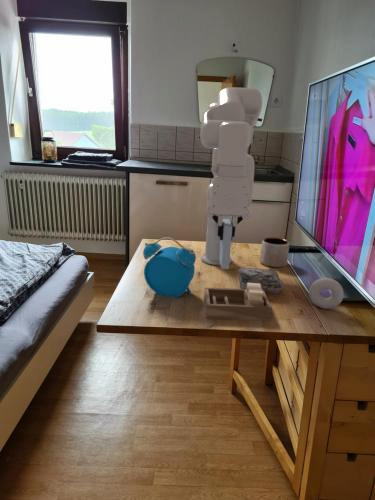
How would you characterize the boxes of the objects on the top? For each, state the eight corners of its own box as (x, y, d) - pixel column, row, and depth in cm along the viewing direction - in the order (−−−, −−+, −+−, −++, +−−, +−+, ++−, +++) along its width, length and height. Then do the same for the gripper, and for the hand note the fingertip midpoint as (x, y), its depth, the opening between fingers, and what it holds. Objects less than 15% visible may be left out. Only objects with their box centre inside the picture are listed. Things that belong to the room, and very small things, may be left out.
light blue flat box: (219, 258, 112) (221, 218, 108) (225, 258, 112) (228, 219, 108) (221, 268, 104) (224, 226, 100) (228, 269, 104) (232, 226, 100)
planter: (257, 258, 159) (259, 236, 156) (282, 259, 160) (285, 237, 157) (262, 267, 149) (265, 244, 146) (290, 268, 150) (293, 245, 147)
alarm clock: (199, 293, 124) (202, 234, 118) (188, 306, 115) (192, 243, 108) (152, 284, 129) (153, 227, 123) (138, 296, 120) (138, 235, 113)
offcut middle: (243, 296, 115) (244, 289, 114) (256, 297, 115) (257, 289, 114) (249, 308, 108) (250, 300, 107) (263, 308, 108) (264, 301, 107)
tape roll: (306, 307, 118) (311, 277, 114) (306, 302, 121) (311, 273, 118) (340, 313, 115) (346, 283, 111) (340, 308, 118) (346, 279, 114)
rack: (203, 302, 118) (204, 287, 116) (261, 304, 118) (263, 289, 117) (205, 321, 106) (206, 305, 105) (269, 323, 107) (271, 307, 105)
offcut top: (246, 290, 114) (247, 282, 113) (259, 290, 114) (260, 283, 113) (248, 299, 107) (249, 292, 107) (262, 300, 107) (262, 293, 106)
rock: (231, 291, 125) (238, 264, 121) (235, 281, 133) (243, 256, 129) (277, 307, 122) (287, 280, 118) (279, 296, 130) (288, 270, 126)
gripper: (201, 172, 96) (197, 242, 102) (263, 175, 96) (256, 244, 102) (200, 168, 103) (196, 234, 109) (258, 171, 103) (251, 236, 109)
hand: (225, 238), depth 105 cm, fingers closed on light blue flat box, 2 cm apart
